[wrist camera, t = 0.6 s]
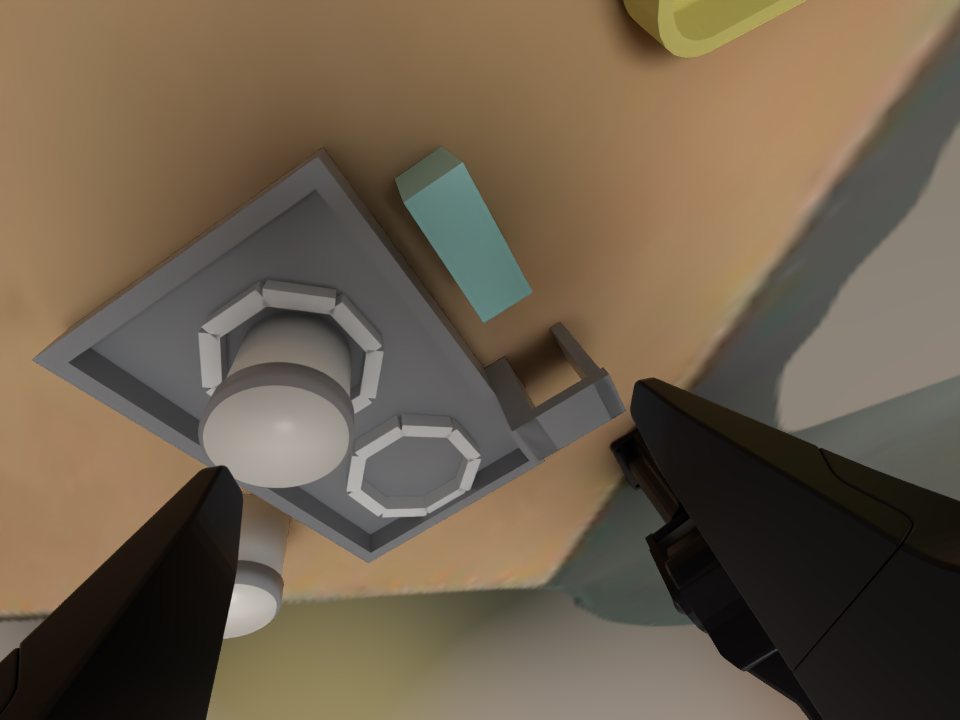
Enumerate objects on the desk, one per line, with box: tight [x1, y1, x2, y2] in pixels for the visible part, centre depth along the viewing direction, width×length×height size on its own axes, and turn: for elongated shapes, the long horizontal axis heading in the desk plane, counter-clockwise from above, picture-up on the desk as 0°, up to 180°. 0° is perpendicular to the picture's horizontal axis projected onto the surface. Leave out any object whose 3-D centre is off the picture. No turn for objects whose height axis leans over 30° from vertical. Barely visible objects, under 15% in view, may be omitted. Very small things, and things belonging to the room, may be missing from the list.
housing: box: [32, 148, 626, 563], centre depth 21 cm, size 21×20×6 cm
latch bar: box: [395, 146, 533, 323], centre depth 18 cm, size 6×2×4 cm, turn 29°
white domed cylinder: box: [198, 312, 355, 488], centre depth 18 cm, size 5×5×6 cm
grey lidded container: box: [223, 494, 290, 639], centre depth 25 cm, size 5×5×6 cm
